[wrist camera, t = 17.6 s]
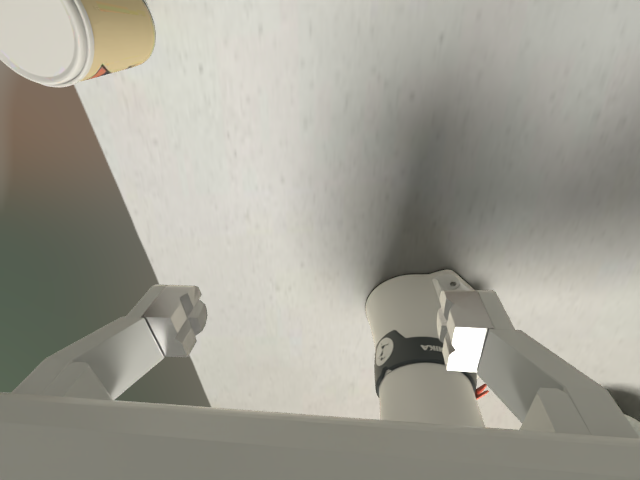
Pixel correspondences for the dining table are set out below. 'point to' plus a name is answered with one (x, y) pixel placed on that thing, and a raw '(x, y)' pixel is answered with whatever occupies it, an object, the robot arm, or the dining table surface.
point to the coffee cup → (74, 38)
